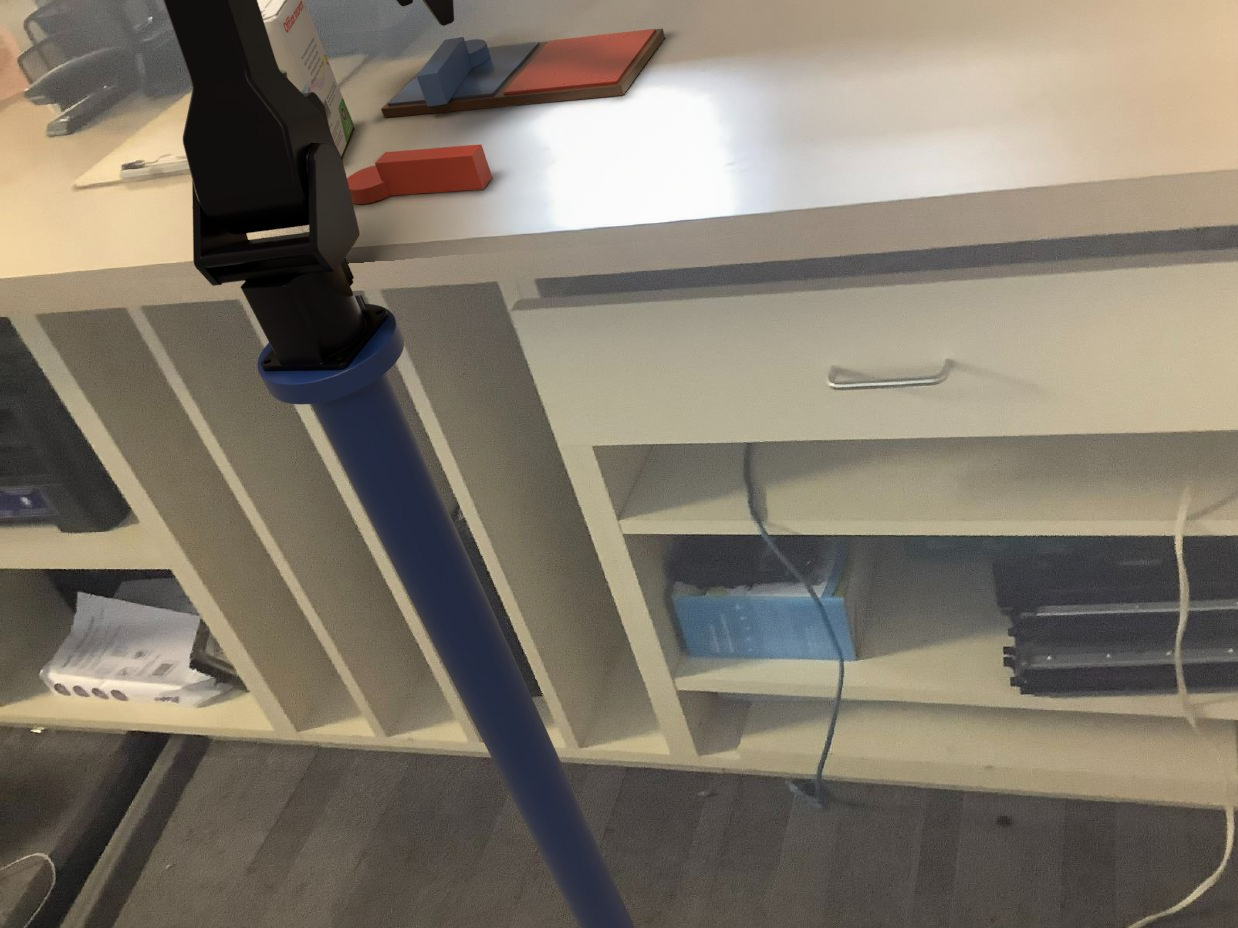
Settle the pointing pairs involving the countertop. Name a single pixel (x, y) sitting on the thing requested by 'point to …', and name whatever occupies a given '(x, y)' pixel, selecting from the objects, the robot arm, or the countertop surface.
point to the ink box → (306, 61)
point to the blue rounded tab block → (450, 68)
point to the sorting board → (542, 73)
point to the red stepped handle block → (421, 173)
